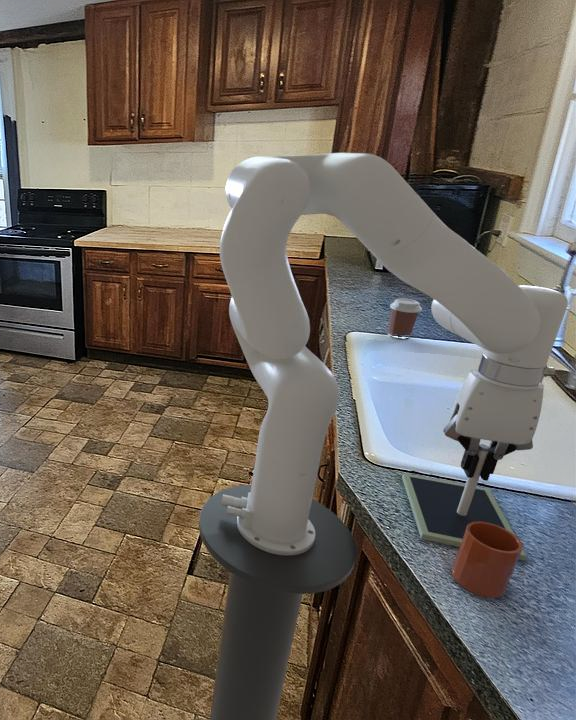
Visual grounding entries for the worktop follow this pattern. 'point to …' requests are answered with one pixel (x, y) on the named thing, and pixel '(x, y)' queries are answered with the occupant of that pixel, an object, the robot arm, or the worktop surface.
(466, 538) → the pen cup
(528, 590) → the worktop surface
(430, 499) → the tablet
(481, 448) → the stylus
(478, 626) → the worktop surface
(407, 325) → the coffee cup
